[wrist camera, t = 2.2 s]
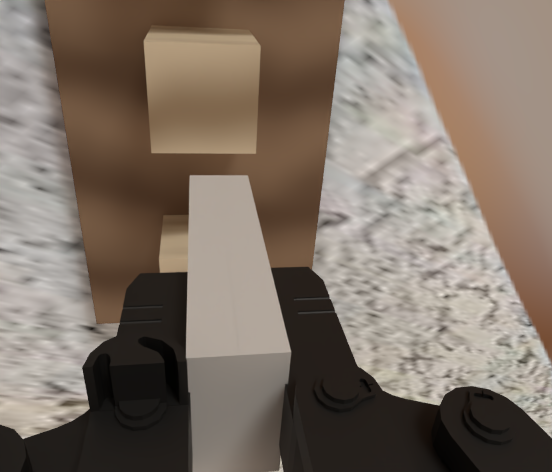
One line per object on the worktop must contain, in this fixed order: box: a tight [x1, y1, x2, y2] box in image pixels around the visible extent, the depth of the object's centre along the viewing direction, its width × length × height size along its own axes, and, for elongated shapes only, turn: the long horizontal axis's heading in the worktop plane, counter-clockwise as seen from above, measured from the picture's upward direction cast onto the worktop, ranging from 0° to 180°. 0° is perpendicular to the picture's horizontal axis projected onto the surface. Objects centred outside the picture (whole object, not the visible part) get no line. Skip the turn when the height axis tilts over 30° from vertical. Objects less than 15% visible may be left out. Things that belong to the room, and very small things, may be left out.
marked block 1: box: [159, 215, 189, 273], centre depth 30 cm, size 5×5×5 cm
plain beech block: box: [144, 25, 261, 154], centre depth 24 cm, size 5×5×5 cm
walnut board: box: [45, 0, 345, 324], centre depth 27 cm, size 34×15×2 cm, turn 176°
